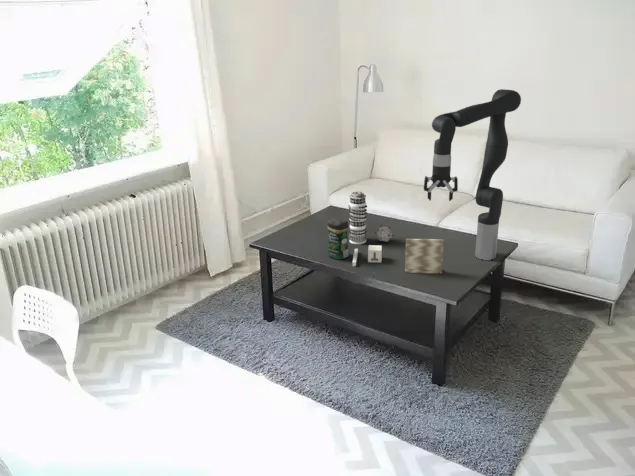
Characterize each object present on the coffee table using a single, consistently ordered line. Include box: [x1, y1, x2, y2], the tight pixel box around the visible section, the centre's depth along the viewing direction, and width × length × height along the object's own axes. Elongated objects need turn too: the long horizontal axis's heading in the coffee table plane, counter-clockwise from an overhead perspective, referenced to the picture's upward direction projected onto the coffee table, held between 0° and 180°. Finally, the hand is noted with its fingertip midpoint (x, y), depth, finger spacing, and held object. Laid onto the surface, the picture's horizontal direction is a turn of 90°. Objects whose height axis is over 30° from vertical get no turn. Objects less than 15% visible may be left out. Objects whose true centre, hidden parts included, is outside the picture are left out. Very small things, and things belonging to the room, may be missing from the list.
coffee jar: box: [327, 216, 350, 260], centre depth 279 cm, size 10×8×19 cm
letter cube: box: [367, 244, 383, 263], centre depth 277 cm, size 6×6×6 cm
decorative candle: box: [348, 191, 368, 245], centre depth 295 cm, size 9×9×25 cm
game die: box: [374, 224, 395, 244], centre depth 297 cm, size 9×8×10 cm
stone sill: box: [352, 248, 359, 267], centre depth 279 cm, size 16×2×2 cm, turn 173°
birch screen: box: [404, 238, 445, 275], centre depth 262 cm, size 16×4×15 cm, turn 83°
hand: (439, 200), depth 261 cm, fingers open, 8 cm apart
